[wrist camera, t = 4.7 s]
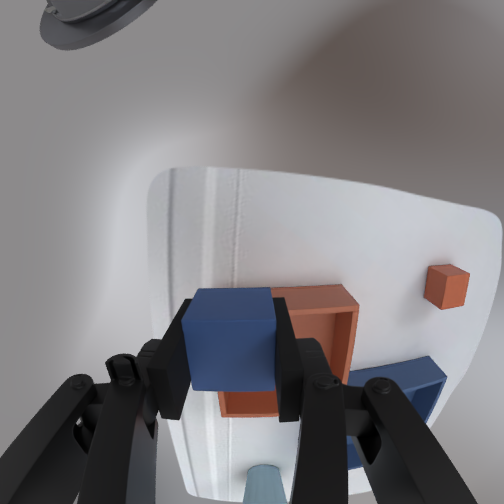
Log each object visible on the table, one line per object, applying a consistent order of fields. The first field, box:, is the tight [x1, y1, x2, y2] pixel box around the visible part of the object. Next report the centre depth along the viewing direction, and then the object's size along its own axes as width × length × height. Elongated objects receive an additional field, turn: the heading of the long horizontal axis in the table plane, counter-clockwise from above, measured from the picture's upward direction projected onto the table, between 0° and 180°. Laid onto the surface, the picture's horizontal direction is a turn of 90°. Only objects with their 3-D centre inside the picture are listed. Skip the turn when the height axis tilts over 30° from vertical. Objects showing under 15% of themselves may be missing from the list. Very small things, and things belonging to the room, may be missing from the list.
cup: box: [243, 465, 287, 504], centre depth 31 cm, size 8×8×10 cm
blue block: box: [181, 287, 276, 392], centre depth 13 cm, size 4×4×4 cm
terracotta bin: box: [218, 284, 359, 417], centre depth 27 cm, size 13×13×6 cm
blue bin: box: [347, 356, 447, 470], centre depth 30 cm, size 17×17×6 cm
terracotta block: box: [424, 264, 470, 310], centre depth 26 cm, size 4×4×4 cm
